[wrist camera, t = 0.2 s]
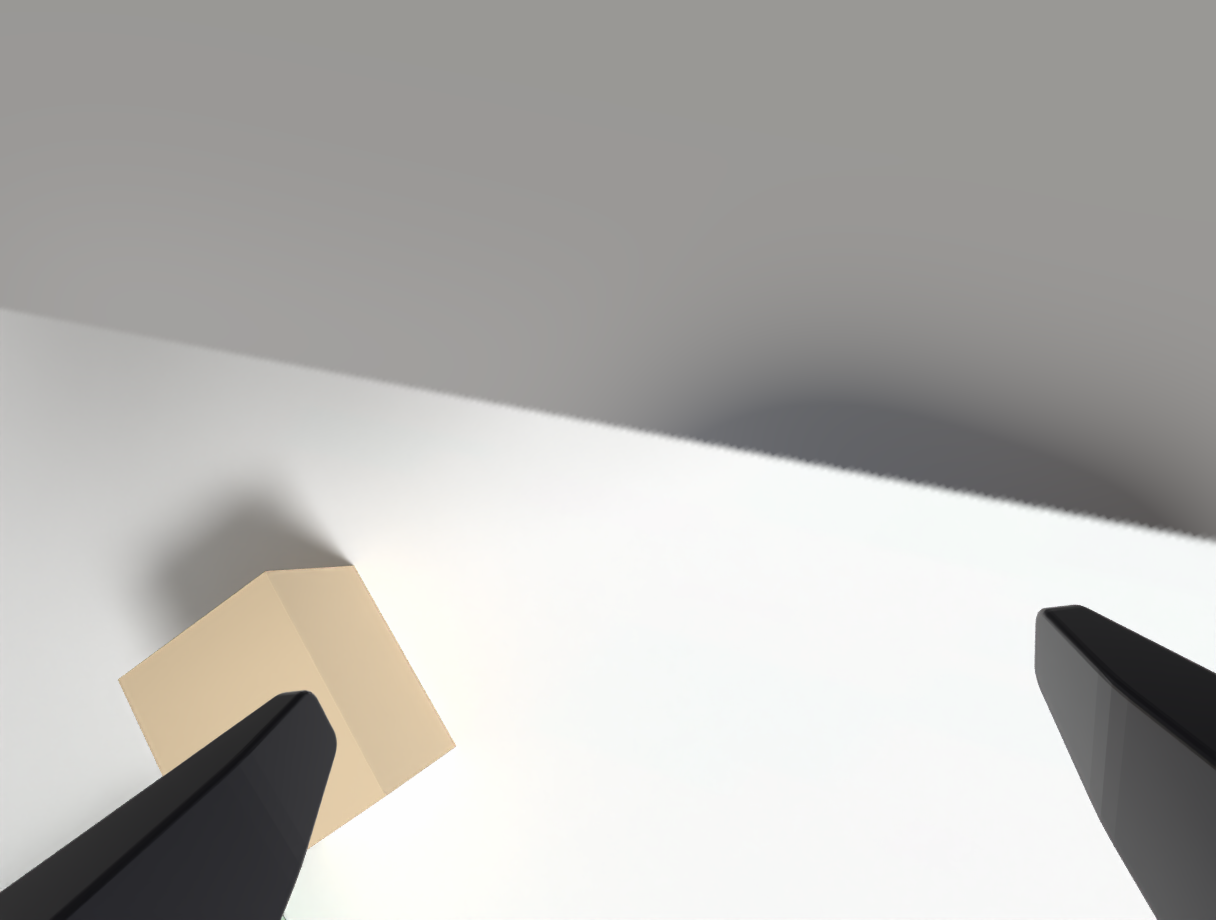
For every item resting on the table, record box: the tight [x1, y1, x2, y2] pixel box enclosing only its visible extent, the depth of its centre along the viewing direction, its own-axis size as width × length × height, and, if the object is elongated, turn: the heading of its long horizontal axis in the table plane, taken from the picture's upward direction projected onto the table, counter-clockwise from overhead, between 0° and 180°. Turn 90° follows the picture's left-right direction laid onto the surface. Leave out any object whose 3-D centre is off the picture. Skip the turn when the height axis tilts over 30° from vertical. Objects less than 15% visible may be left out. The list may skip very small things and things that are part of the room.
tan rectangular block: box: [118, 566, 456, 849], centre depth 23 cm, size 8×6×5 cm
